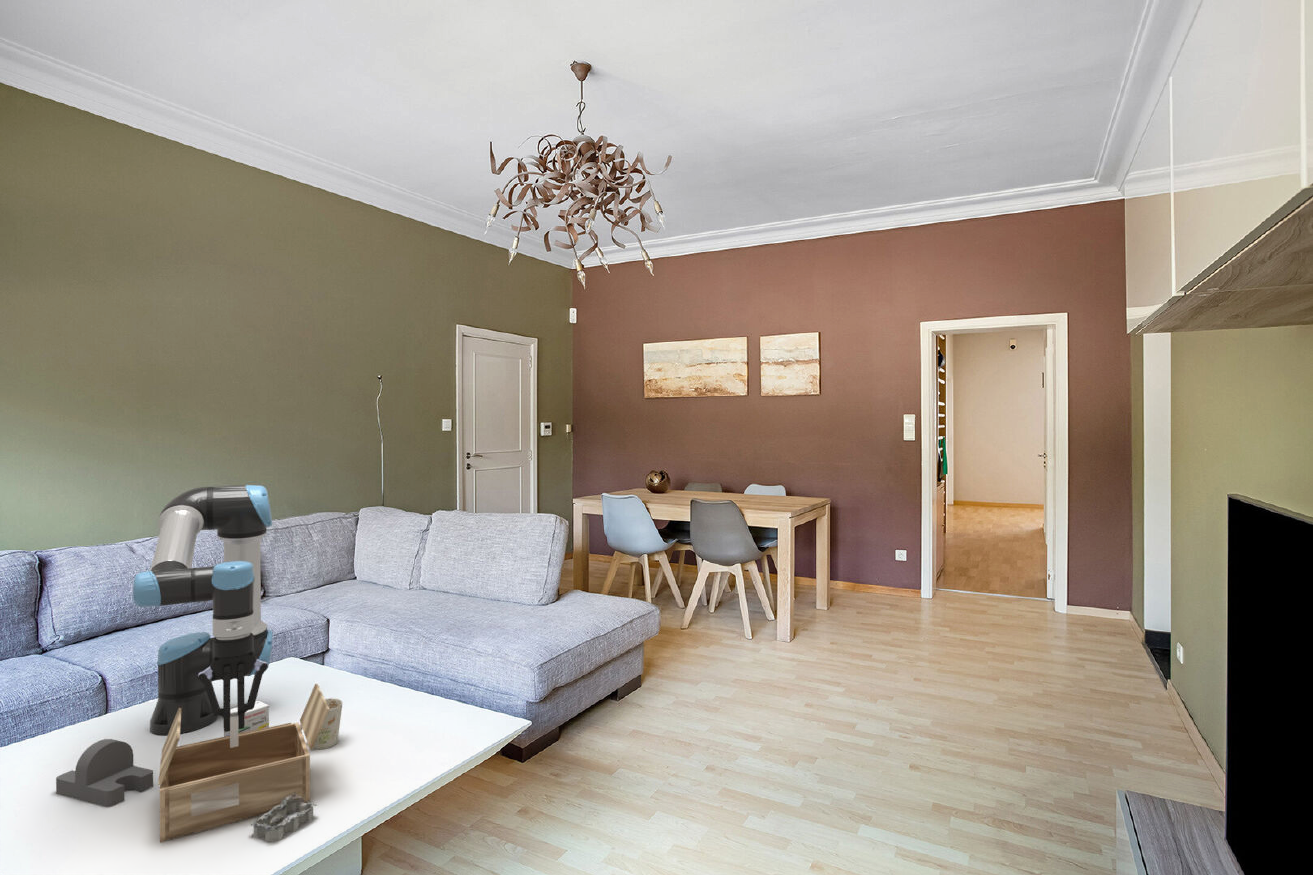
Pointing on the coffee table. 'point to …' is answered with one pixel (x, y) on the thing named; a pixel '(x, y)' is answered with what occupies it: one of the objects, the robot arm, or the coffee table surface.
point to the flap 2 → (314, 716)
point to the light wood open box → (232, 779)
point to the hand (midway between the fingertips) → (234, 744)
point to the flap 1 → (170, 746)
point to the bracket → (104, 775)
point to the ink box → (254, 718)
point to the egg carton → (274, 822)
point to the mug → (329, 725)
